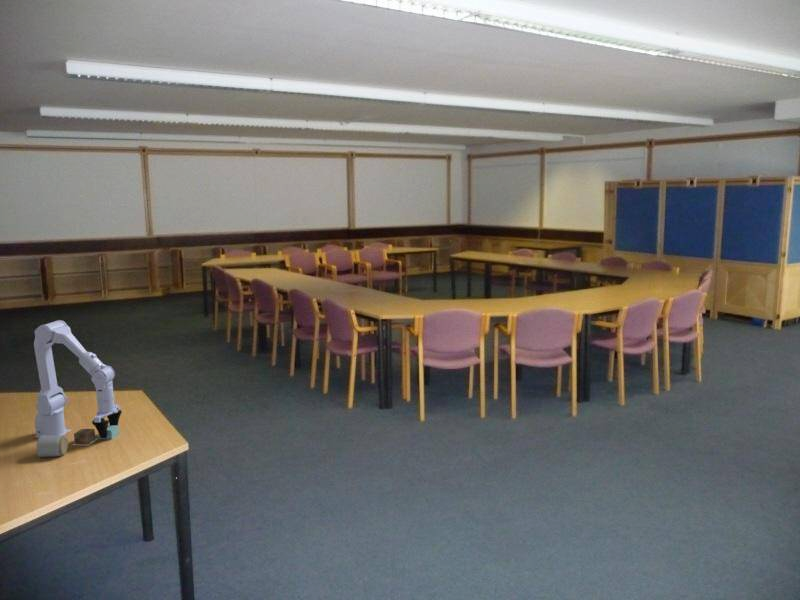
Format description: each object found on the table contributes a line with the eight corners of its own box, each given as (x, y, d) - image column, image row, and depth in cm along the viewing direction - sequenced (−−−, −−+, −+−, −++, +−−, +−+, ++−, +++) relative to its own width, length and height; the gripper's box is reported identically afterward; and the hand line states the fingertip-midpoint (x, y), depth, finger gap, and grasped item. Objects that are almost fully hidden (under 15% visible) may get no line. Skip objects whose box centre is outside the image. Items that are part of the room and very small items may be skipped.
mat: (61, 446, 231) (61, 446, 231) (75, 437, 240) (75, 436, 240) (87, 447, 231) (87, 446, 231) (100, 437, 240) (100, 437, 240)
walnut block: (74, 444, 233) (73, 433, 232) (82, 438, 238) (81, 428, 237) (88, 444, 233) (87, 434, 232) (95, 439, 238) (94, 428, 237)
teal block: (99, 440, 238) (98, 430, 237) (106, 435, 243) (105, 425, 242) (112, 440, 237) (111, 430, 237) (119, 435, 242) (118, 425, 241)
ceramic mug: (62, 459, 221) (60, 438, 220) (37, 461, 220) (34, 439, 219) (73, 447, 231) (71, 427, 230) (49, 449, 230) (47, 428, 229)
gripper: (105, 406, 230) (109, 441, 232) (125, 393, 244) (128, 426, 246) (87, 405, 230) (90, 441, 233) (107, 392, 245) (111, 426, 247)
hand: (108, 433), depth 240 cm, fingers open, 7 cm apart
